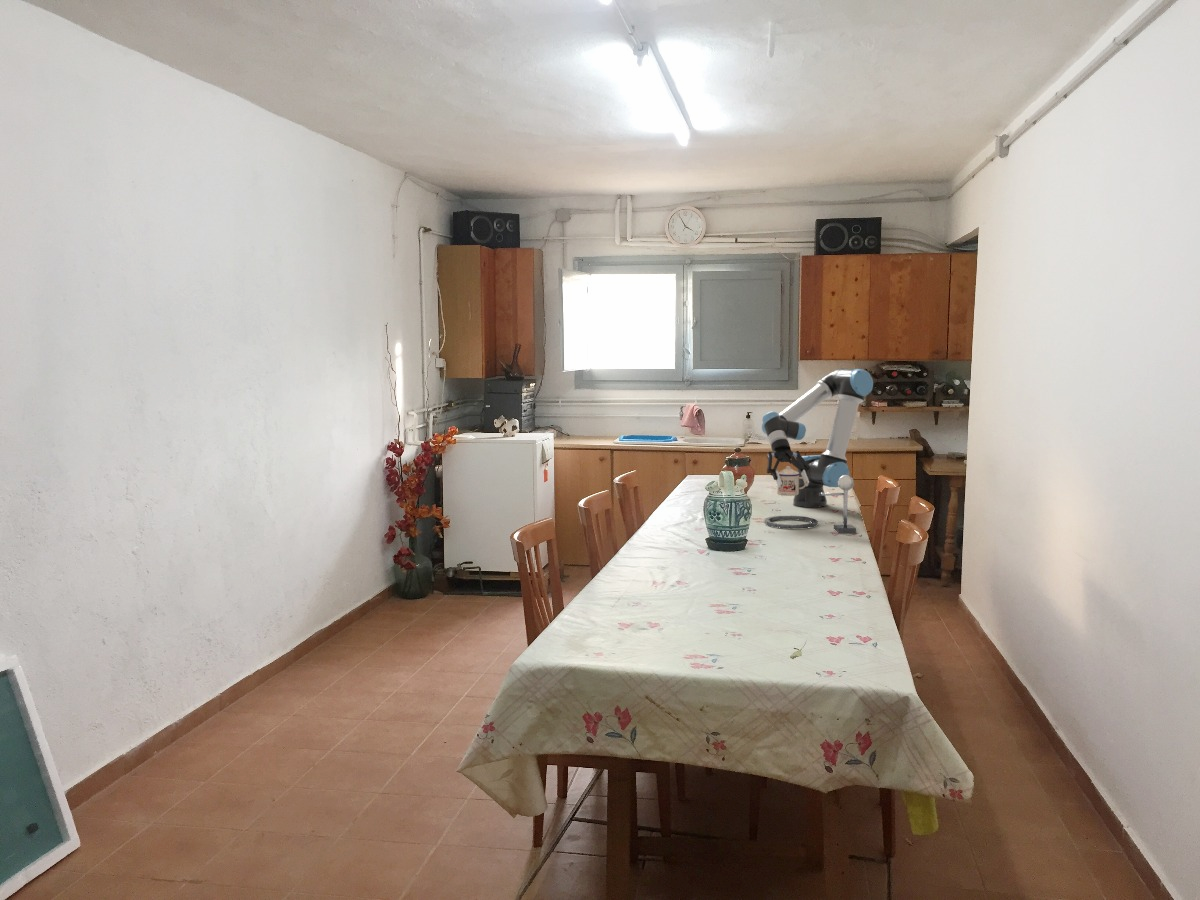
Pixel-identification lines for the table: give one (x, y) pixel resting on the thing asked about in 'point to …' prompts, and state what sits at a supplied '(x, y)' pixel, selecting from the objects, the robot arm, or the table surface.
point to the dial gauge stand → (845, 484)
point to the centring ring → (767, 522)
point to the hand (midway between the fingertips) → (793, 485)
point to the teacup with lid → (789, 482)
